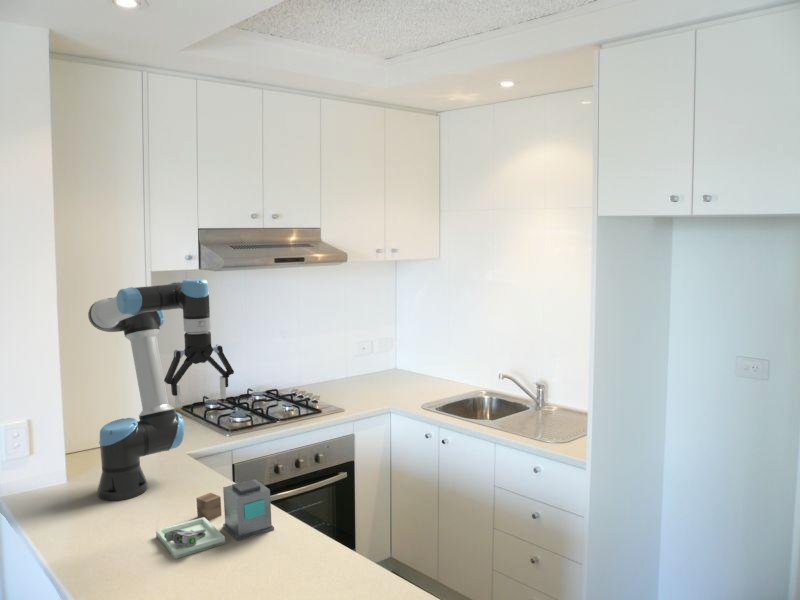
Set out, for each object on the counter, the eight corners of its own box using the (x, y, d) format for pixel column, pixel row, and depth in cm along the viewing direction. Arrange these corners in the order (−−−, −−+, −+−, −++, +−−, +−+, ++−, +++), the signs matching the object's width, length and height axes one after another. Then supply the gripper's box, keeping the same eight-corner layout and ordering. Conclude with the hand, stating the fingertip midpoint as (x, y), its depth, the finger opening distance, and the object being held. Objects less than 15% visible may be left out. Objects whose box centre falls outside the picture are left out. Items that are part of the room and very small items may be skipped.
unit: (222, 526, 206) (220, 483, 204) (258, 516, 212) (255, 474, 210) (237, 540, 197) (235, 496, 195) (274, 529, 203) (272, 486, 201)
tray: (156, 536, 200) (156, 530, 200) (204, 523, 208) (204, 516, 208) (174, 559, 187) (174, 552, 187) (225, 543, 195) (224, 536, 195)
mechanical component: (191, 524, 202) (164, 530, 193) (218, 529, 196) (190, 535, 188) (191, 534, 201) (163, 541, 193) (217, 540, 196) (189, 547, 188)
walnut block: (197, 516, 213) (196, 498, 212) (211, 511, 217) (210, 492, 216) (207, 521, 210) (206, 502, 209) (221, 515, 213) (220, 496, 213)
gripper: (157, 338, 197) (162, 412, 200) (242, 328, 211) (245, 397, 214) (150, 334, 203) (155, 406, 207) (233, 325, 217) (236, 392, 220)
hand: (201, 401), depth 210 cm, fingers open, 13 cm apart
